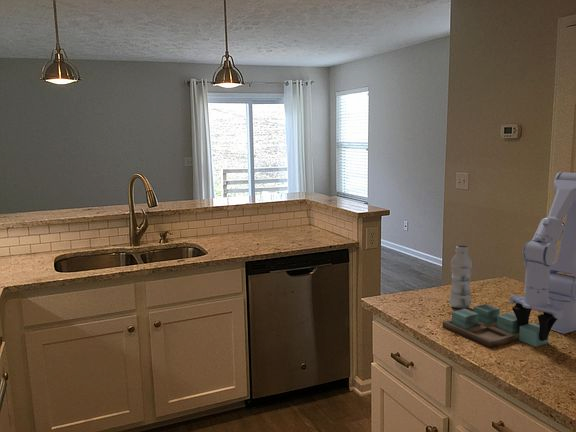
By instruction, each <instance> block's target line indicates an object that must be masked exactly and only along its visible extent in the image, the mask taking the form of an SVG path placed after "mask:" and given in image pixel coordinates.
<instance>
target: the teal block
mask: <svg viewBox="0 0 576 432" xmlns="http://www.w3.org/2000/svg"><path fill="white" fill-rule="evenodd" d="M539 333H540V326H539V324H537V323H533V322H531V323H528V324H527V325H523V326H520V331H519V340H518V341H520V342H523V343H525V344H528V345H530V346H532V347H535V348H536V347H538V346H539V347H540V346H542V345H545V344H549V335H550V334H549V335H548V338H547V340H544V341H541V340H540V339H539Z"/></svg>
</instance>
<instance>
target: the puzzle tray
mask: <svg viewBox="0 0 576 432" xmlns="http://www.w3.org/2000/svg"><path fill="white" fill-rule="evenodd" d="M500 311H501V310H500V308H498V307H495V306H492V305H491V304H488V303H484V304H479V305H475V306H473V311H472V310H470V309H468V308H466V309H457V310H454V311H451V319H447V320H443V321H442V328H445V329H447V330H449V331H451V332H453V333H455V334H458V335H460V336H463V337H465V338H467V339H469V340H470V341H473V342H475V343H478V344H480V345H482V346H484V347H485V348H486V347H487V348H489V349H492V348H495V347H499V346H502V345H505V344H509V343H513V342H515V341H516V342H517V341H520V340H519V331H520V329H519V325H518V321H517V318H516V315H515V313H514V312H513V313H512V312H507V313H503V314H500Z"/></svg>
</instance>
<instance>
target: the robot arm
mask: <svg viewBox="0 0 576 432" xmlns="http://www.w3.org/2000/svg"><path fill="white" fill-rule="evenodd" d="M553 190H554V191H553V193H554V195H555V196H554V197H553V201H552V204H551V206H550V209H549V212H548V215H547V217H544V218H542V219H540V222H539V224H538V227H537V229H536V231H535V233H534V234H533V237H532V239H531V240H529V241H527V242H526V243H525V244H524V246H523V248H522V249H523V250H522V252H521V253H522V254H521V255H522V259H523V268H524V269H525V275H524V276H525V278H524V290H523V291H524V293H523V294H524V295H523V296H521V295H516V294H512V295H510V296H509V304H515V305H514V306H511V307H512V309H511V310H512V311H513V314H515V315H516V318H517V321H518V325H519V329H520V326H523V325H527V324H530V321H529V320H530V315H531V312H532V310H533V311H536V312H540V313H542V314H538V315H537V319H538V325H539V326H540V333H539V339H540V340H541V341H544V340H547V338H548V339H549V336H548V335H550V332H551V330H552V331H554V332H557V333H560V334H567V333H571V332H575V331H576V172H567V171H566V172H564V171H559V172H557V174H556V175H555V177H554V179H553ZM564 219H565V221H564V224H563V223H562V222H563V220H564ZM560 237H561V240H560V244H559V247H558V245H557V244H558V242H559V239H560ZM558 248H559V249H558ZM557 250H558V254H557ZM556 257H557V258H556ZM555 260H556V261H555Z"/></svg>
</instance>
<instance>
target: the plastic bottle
mask: <svg viewBox="0 0 576 432" xmlns="http://www.w3.org/2000/svg"><path fill="white" fill-rule="evenodd" d="M472 268H473V261H472V259H471V257H470V256H469V246H468V245H463V244H460V245H456V246H455V254H454V255H453V256H452V258H451V260H450V270H451V272H450V273H451V285H450V286H451V288H450V293H449V297H448V300H449V305H450V306H451V307H452V308H455V309H458V310H461V309H469V308H470V307H471V304H472V296H471V274H472Z"/></svg>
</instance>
